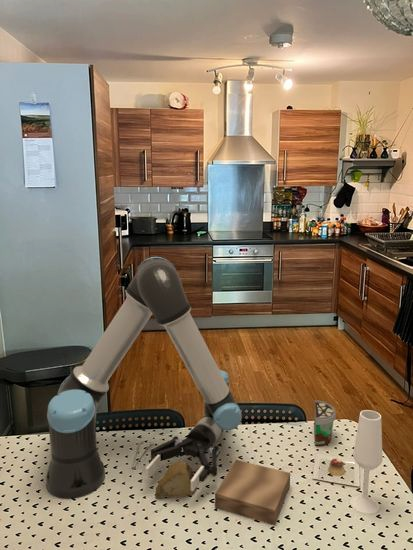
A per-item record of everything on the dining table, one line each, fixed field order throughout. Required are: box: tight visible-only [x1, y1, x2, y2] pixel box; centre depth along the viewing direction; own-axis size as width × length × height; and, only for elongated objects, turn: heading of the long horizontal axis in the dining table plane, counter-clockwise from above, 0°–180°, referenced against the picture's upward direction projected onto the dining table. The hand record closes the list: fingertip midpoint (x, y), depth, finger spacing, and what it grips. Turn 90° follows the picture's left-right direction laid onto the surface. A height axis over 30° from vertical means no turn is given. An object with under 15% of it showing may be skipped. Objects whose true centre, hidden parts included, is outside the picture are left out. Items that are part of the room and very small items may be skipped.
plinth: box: [214, 459, 291, 526], centre depth 116 cm, size 15×15×4 cm
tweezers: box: [129, 440, 154, 474], centre depth 133 cm, size 17×5×2 cm, turn 170°
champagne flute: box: [349, 409, 384, 515], centre depth 111 cm, size 7×7×24 cm
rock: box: [155, 461, 198, 499], centre depth 118 cm, size 11×9×10 cm
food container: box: [313, 399, 337, 447], centre depth 141 cm, size 12×6×10 cm, turn 168°
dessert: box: [312, 453, 361, 488], centre depth 126 cm, size 12×12×5 cm
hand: (168, 479), depth 114 cm, fingers open, 12 cm apart
